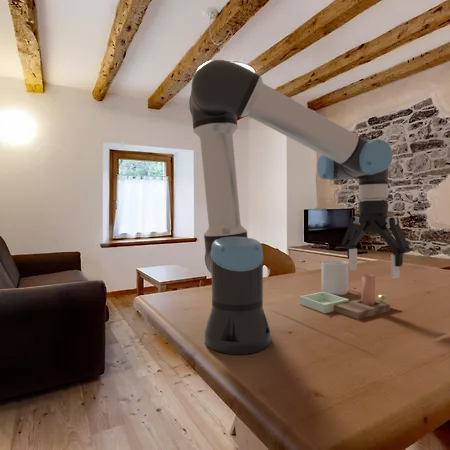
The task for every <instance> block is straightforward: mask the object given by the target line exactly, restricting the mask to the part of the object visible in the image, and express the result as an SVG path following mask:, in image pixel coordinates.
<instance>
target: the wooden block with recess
mask: <svg viewBox="0 0 450 450" xmlns="http://www.w3.org/2000/svg"><path fill="white" fill-rule="evenodd" d="M390 309H391V304H390V303H389V304H387V303H383V302H379V301H378V300H376V299H375V305H374V306H368V305H364V304H361V298H358V299H354V300H349V302H344V303H340V304H336V305H334V311H333V312H334V313H337V314H340V315H343V316H346V317H347V318H348V317H349V318H351V319H354V320H357V321H358V320H361V319H366V318H370V317H373V316H377V315H380V314H384V313H387V312H391V310H390Z"/></svg>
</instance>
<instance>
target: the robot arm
mask: <svg viewBox="0 0 450 450" xmlns="http://www.w3.org/2000/svg"><path fill="white" fill-rule="evenodd" d="M188 105H189V112H190V114H191V118H192V120H191V121H192V128H193V133H194V134H196V135H197V136H198V137H199V140H200V141H199V143H200V148H201V149H200V151H201V159H202V170H203V180H204V189H205V190H204V192H205V201H206V210H207V211H206V213H207V222H208V228H207V230H206V231H205V232H204V234H203V238H204V249H205V251H204V262H205V263H204V264H205V266H206V269H207V271H208V272H209V273H210V275H211V306H212V307H211V309H210V310H211V311H210V312H209V316H208V319H207V323H206V326H205V329H204V343H205V345H206V346H207V347H208V348H209V349H211V350H212V351H216V352H217V353H222V354H227V355H228V354H229V355H248V354H255V353H259V352H260V351H263V350H265V349H266V348H268V346H270V344H271V328H270V326H269V323H268V321H267V316H266V314H265V311H264V307H263V305H264V303H263V301H264V296H263V295H264V294H263V292H264V287H263V286H264V285H263V283H264V280H263V279H264V276H263V275H264V274H263V273H264V271H263V270H264V269H263V267H264V265H263V264H264V253H263V245H262V244H261V242H260V241H258V240H256V239H255V238H251V237H249V238H248V230H247V229H246V227H244V226H242V224H241V216H240V215H241V214H240V204H239V203H240V202H239V193H238V181H237V170H236V160H235V158H236V157H235V150H234V148H235V147H234V139H233V138H234V137H233V134H234V133H235V132H236V130H237V129H238V118H237V117H239V118H245V117H249V118H251V119H253V120H255V121H257V122H258V123H261V124H263V125H265V126H266V127H268V128H271V129H272V130H274V131H277V132H278V133H280V134H282V135H283V136H286V137H288V138H289V139H292V140H293V141H295V142H297V143H299V144H301V145H303V146H305V147H307V148H309V149H310V150H313V151H315V152H316V153H318V154H319V157H318V160H317V165H316V168H317V175H318V176H319V177H320V178H321V179H322V180H330V181H333V180H337V181H338V180H358V199H359V202H358V213H359V216H357V215H356V216H350V220H349V225H348V228H347V229H346V232H345V234H344V237H343V239H342V242H341V246H342V247H345V248H346V249H347V251H346V252H347V253H346V254H347V255H346V256H347V259H348V271H356V270H358V248H357V247H356V246H357V245H358V243H359V242H360V241H361V240H362V238H363V237H364V236H365V235H366V234H367V233H373V234H378V235H380V236H381V238H382V239H383V240H384V241H385V242H386V244H387V245H388V247H389V248H390V250H392V254H390V279H393V280H394V279H396V280H397V279H399V278H400V277H401V276H400V275H401V267H403V264H404V263H403V262H404V261H403V259H404V257H403V255H404V254H407V253H410V252H411V247H410V246H409V243H408V240H407V238H406V236H405V234H404V232H403V230H402V228H401V226H400V221H399V220H400V219H399V217H398V216H394V217H393V216H392V217H391V216H390V217H388V212H389V202H388V200H386V199H388V198H389V182H388V181H389V167H390V165H391V164H392V162H393V158H394V157H393V149H392V146H391V145H390V144H389V143H388V142H386V141H385V140H384V139H383V140H382V139H371V140H367V139H365V138H364V137H361V136H360V135H358V134H356V133H354V132H352V131H350V130H349V129H347V128H345V127H344V126H341V125H340V124H338V123H336V122H334V121H332V120H330V119H328V118H327V117H326V116H324V115H321V114H320V113H317V112H316V111H314V110H312V109H311V108H308V107H306V106H305V105H304V104H301V103H299V102H297V101H295V100H294V99H293V98H291V97H289V96H287V95H285V94H283V93H281V92H280V91H277V90H276V89H274V88H273V87H271V86H268V85H267V84H265V83H264V82H263V78H262V76H261V75H259V74H257V73H256V72H254V71H252V70H250V69H248V68H246V67H244V66H242V65H240V64H237V63H235V62H232V61H230V60H229V61H228V60H224V59H212V60H209V61H206V62H205V63H203V64H202V65H200V66H199V67H198V68H197V70H196V71H195V73H194V75H193V77H192V81H191V91H190V96H189V104H188ZM359 224H360V226H359ZM387 225H389V227H390V229H389V227H388V226H387ZM390 231H391V232H390Z"/></svg>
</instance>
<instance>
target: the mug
mask: <svg viewBox="0 0 450 450" xmlns="http://www.w3.org/2000/svg"><path fill="white" fill-rule="evenodd" d="M320 281H321V292H326V293H329V294H332V295H336V296H343V295H347V294H348V292H349V261H344V260H337V259H326V260H322V261H321V280H320Z"/></svg>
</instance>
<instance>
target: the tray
mask: <svg viewBox="0 0 450 450" xmlns="http://www.w3.org/2000/svg"><path fill="white" fill-rule="evenodd" d="M298 297H299V299H298V300H299V301H298V302H299V305H300V306H303V307H306V308H308V309H311V310H314V311H317V312H318V313H322V314H325V315H326V314H329V313H333V312H334V305H336V304H340V303H344V302H349V301H350V299H349V298H346V297H341V296H340V295H332V294H329V293H326V292H323V291H321V292H320V291H319V292H315V293H309V294H304V295H299V296H298Z"/></svg>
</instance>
